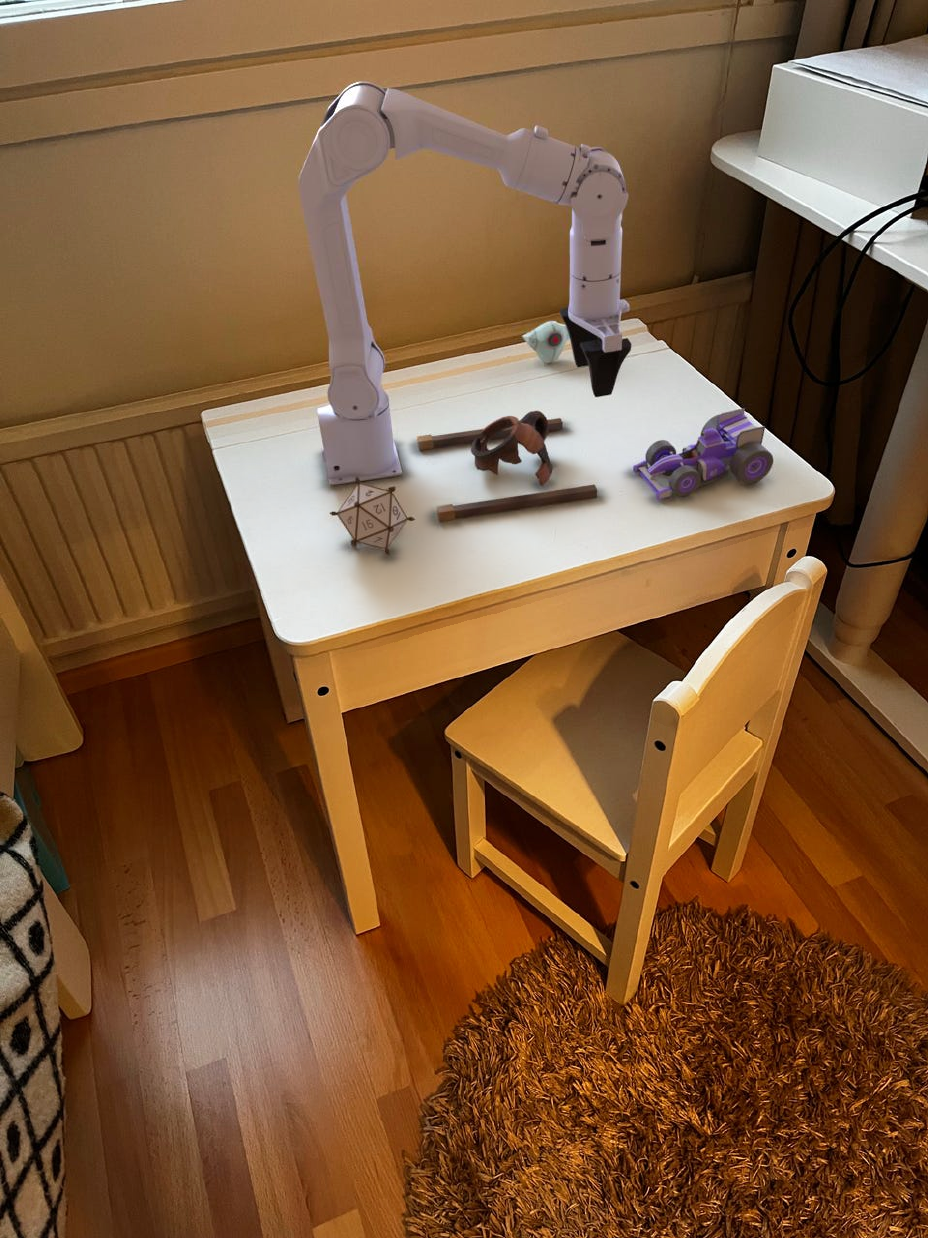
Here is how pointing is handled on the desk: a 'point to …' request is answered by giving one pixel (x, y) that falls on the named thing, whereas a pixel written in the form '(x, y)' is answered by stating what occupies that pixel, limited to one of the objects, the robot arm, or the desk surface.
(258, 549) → the desk surface
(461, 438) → the walnut slot
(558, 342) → the robot head
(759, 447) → the toy race car
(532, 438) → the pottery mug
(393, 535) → the game die
